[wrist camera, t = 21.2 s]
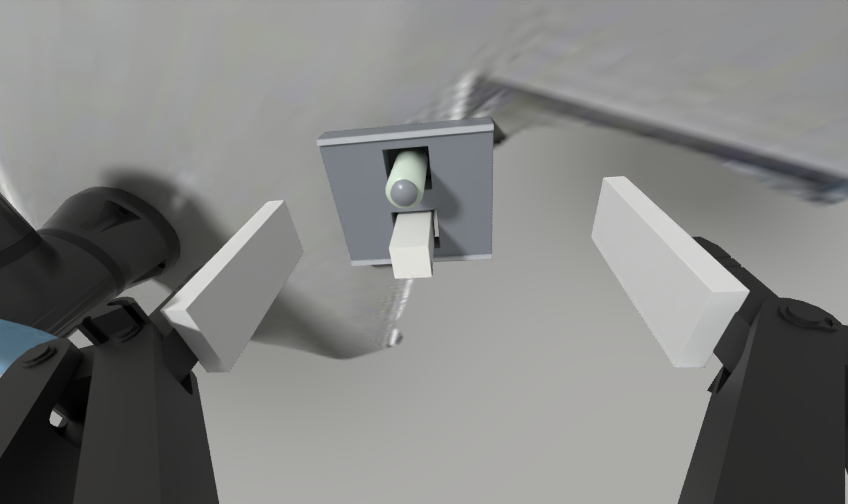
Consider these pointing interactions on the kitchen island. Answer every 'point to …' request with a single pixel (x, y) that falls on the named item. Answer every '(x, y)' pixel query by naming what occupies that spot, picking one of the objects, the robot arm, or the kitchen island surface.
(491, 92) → the kitchen island surface
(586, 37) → the kitchen island surface
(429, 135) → the grey socket board
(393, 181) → the peg
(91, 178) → the kitchen island surface
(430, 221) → the block
